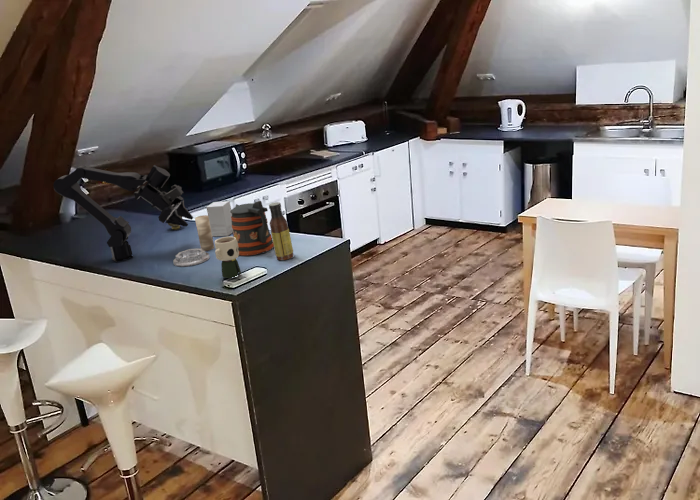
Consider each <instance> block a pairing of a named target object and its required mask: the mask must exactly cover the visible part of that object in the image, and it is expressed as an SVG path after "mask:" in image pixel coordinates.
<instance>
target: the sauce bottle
mask: <svg viewBox="0 0 700 500" xmlns="http://www.w3.org/2000/svg"><path fill="white" fill-rule="evenodd" d="M268 209H269V210H270V216H271V217H270V220H269V229H270V234H271V236H272V240H273V244H274V246H273V249H274V253H275V256H276V257H275V258H276V259H277V260H278V261H287V260H291V259H293V258H294V255H295V254H294V249H293V244H292V239H291V238H292V237H291V234H290V233H291V232H290V228H289V226H288V220H287V219H286V218H285V217H284V215H283V211H282V205H281V202H279V201H275V202H272V203H269V204H268Z"/></svg>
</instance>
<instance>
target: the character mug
mask: <svg viewBox="0 0 700 500" xmlns="http://www.w3.org/2000/svg"><path fill="white" fill-rule="evenodd" d="M214 249H215V251H214V253H215V258H216V260H218V261H221V276H222V278H225V279H233V278H232V277H235V276H237V275H238V276H239V275H240V274H241V275H242V271H241V267H240V264H239V261H238V260H237V259H238V257H239V256H240V255H239V251H238V242H237V240H236V238H235V237H234V236H222V237H219V238H217V239H215V240H214ZM235 278H236V277H235Z"/></svg>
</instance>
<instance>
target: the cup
mask: <svg viewBox="0 0 700 500" xmlns="http://www.w3.org/2000/svg"><path fill="white" fill-rule="evenodd" d="M180 217H181V218H182V219H183V217H182V216H180ZM166 221H167V219H166ZM166 221H165V222H166ZM167 225H168V226H169V227H170V228H171V230H172V231H177V230H179V229H180V228H181V225H176V224H170V223H167Z"/></svg>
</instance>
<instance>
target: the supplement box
mask: <svg viewBox="0 0 700 500" xmlns="http://www.w3.org/2000/svg"><path fill="white" fill-rule="evenodd" d="M231 210H232V207H231V202H230V200H227V201H213V202H212V203H210V204H209V205H207V206H206V212H207V213H206V214H207V216H208V217H209V222H210V227H211V232H212V238H213V237H230V235H231V234H233V229H232V220H231V219H232V218H231V216H232V213H230V211H231Z"/></svg>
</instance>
